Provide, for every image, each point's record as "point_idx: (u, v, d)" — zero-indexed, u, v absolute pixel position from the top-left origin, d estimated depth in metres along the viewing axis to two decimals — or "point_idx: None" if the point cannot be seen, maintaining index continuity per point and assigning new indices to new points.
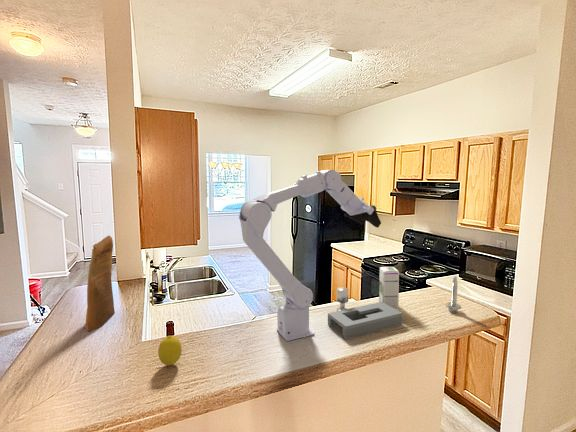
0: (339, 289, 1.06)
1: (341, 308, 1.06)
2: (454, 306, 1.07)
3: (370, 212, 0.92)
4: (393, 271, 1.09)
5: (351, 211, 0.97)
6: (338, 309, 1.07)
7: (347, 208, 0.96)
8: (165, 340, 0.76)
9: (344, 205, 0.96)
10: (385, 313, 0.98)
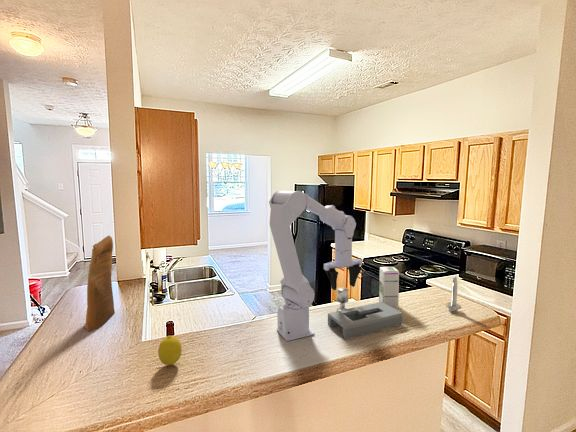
0: (339, 289, 1.06)
1: (341, 308, 1.06)
2: (454, 306, 1.07)
3: None
4: (393, 271, 1.09)
5: (350, 260, 1.03)
6: (338, 309, 1.07)
7: (350, 256, 1.03)
8: (165, 340, 0.76)
9: (350, 251, 1.03)
10: (385, 313, 0.98)
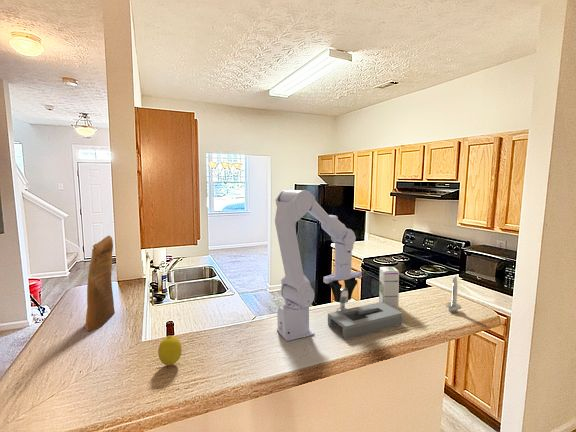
0: None
1: (341, 308, 1.06)
2: (454, 306, 1.07)
3: None
4: (393, 271, 1.09)
5: (350, 273, 1.04)
6: (338, 309, 1.07)
7: (350, 269, 1.03)
8: (165, 340, 0.76)
9: (350, 265, 1.03)
10: (385, 313, 0.98)
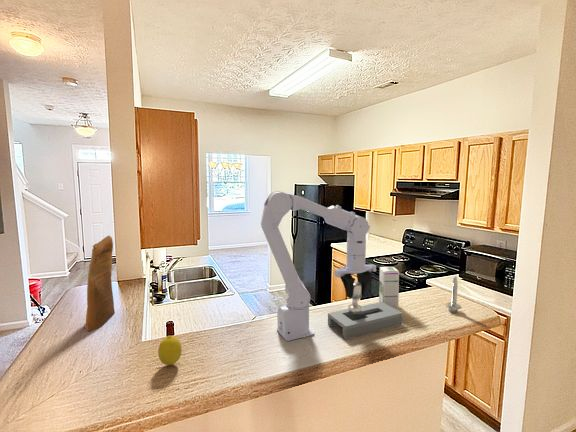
0: None
1: (353, 305, 0.96)
2: (454, 306, 1.07)
3: None
4: (393, 271, 1.09)
5: (364, 266, 0.93)
6: (350, 306, 0.97)
7: (364, 261, 0.93)
8: (165, 340, 0.76)
9: (364, 256, 0.93)
10: (385, 313, 0.98)
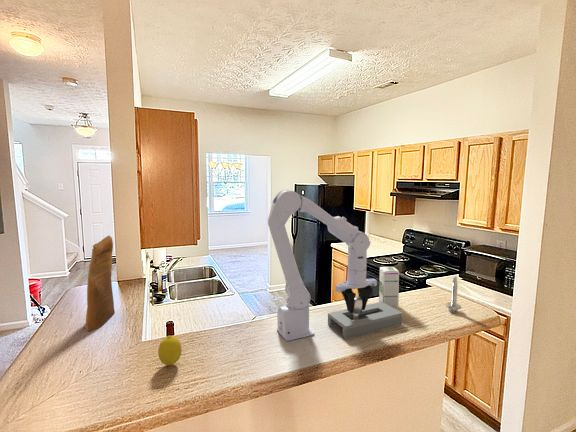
0: None
1: (354, 319, 0.97)
2: (454, 306, 1.07)
3: None
4: (393, 271, 1.09)
5: (365, 281, 0.94)
6: None
7: (365, 276, 0.94)
8: (165, 340, 0.76)
9: (365, 271, 0.93)
10: (385, 313, 0.98)
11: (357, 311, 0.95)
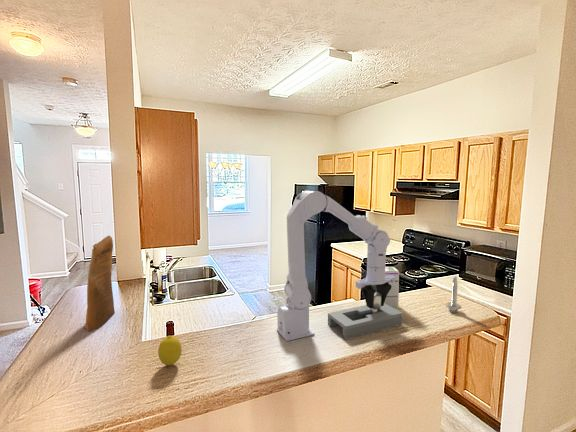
0: None
1: None
2: (454, 306, 1.07)
3: None
4: (393, 271, 1.09)
5: (384, 278, 0.97)
6: None
7: (384, 273, 0.97)
8: (165, 340, 0.76)
9: (384, 268, 0.96)
10: (385, 313, 0.98)
11: (376, 307, 0.98)
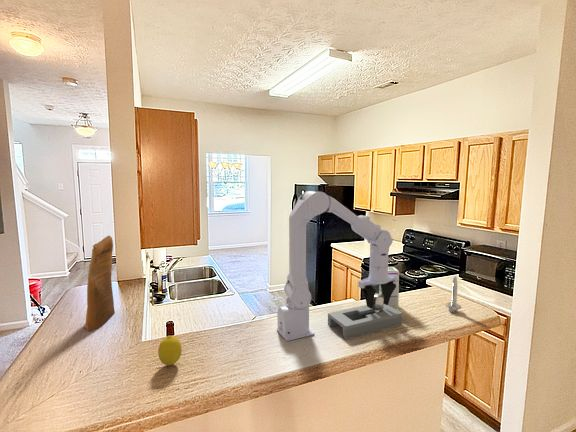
0: (374, 295, 1.00)
1: None
2: (454, 306, 1.07)
3: None
4: (393, 271, 1.09)
5: (387, 277, 0.97)
6: None
7: (386, 273, 0.97)
8: (165, 340, 0.76)
9: (386, 268, 0.97)
10: (385, 313, 0.98)
11: (379, 308, 0.98)
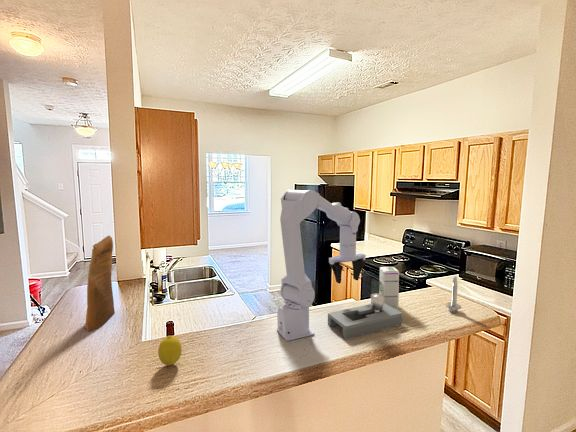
0: (373, 295, 1.00)
1: None
2: (454, 306, 1.07)
3: None
4: (393, 271, 1.09)
5: (355, 255, 1.08)
6: None
7: (354, 250, 1.07)
8: (165, 340, 0.76)
9: (354, 246, 1.07)
10: (385, 313, 0.98)
11: (378, 307, 0.99)
